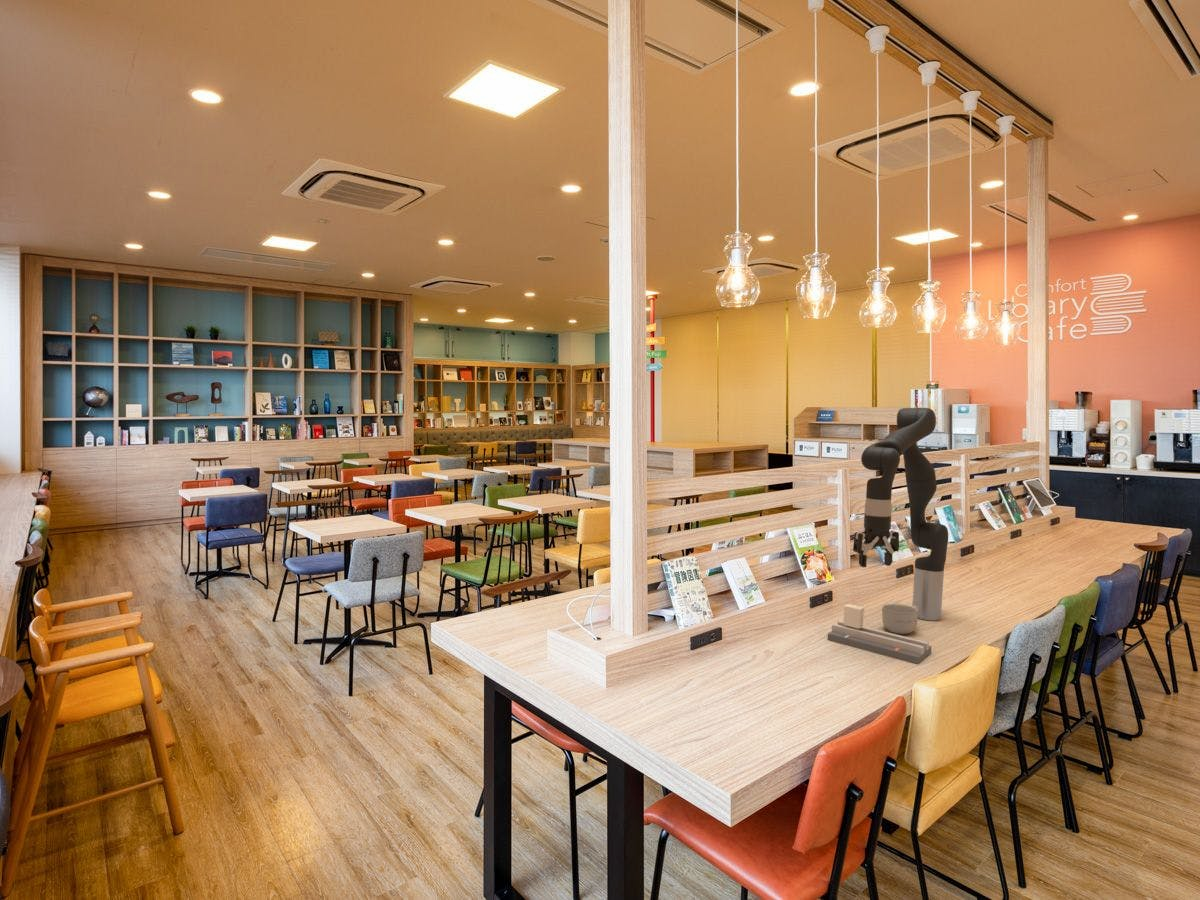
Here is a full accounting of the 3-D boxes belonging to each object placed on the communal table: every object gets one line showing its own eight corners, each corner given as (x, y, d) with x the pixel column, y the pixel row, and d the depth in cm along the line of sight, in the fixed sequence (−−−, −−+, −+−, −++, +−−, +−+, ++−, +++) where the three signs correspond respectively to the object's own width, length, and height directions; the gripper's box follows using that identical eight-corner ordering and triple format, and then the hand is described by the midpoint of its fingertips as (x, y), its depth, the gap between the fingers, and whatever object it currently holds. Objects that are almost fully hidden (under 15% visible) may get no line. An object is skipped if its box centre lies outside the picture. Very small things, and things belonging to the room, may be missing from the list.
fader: (846, 629, 215) (848, 604, 214) (862, 633, 211) (863, 607, 211) (843, 631, 213) (844, 606, 212) (858, 635, 209) (860, 609, 208)
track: (843, 630, 220) (843, 618, 220) (931, 652, 202) (932, 640, 202) (827, 639, 211) (828, 627, 211) (918, 664, 193) (918, 650, 193)
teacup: (895, 638, 214) (897, 613, 213) (873, 626, 224) (874, 603, 224) (932, 635, 218) (933, 610, 217) (908, 623, 228) (910, 600, 228)
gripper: (890, 510, 208) (887, 561, 210) (849, 511, 205) (847, 564, 206) (906, 514, 201) (903, 568, 203) (865, 516, 198) (862, 570, 199)
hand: (875, 565), depth 204 cm, fingers open, 8 cm apart
